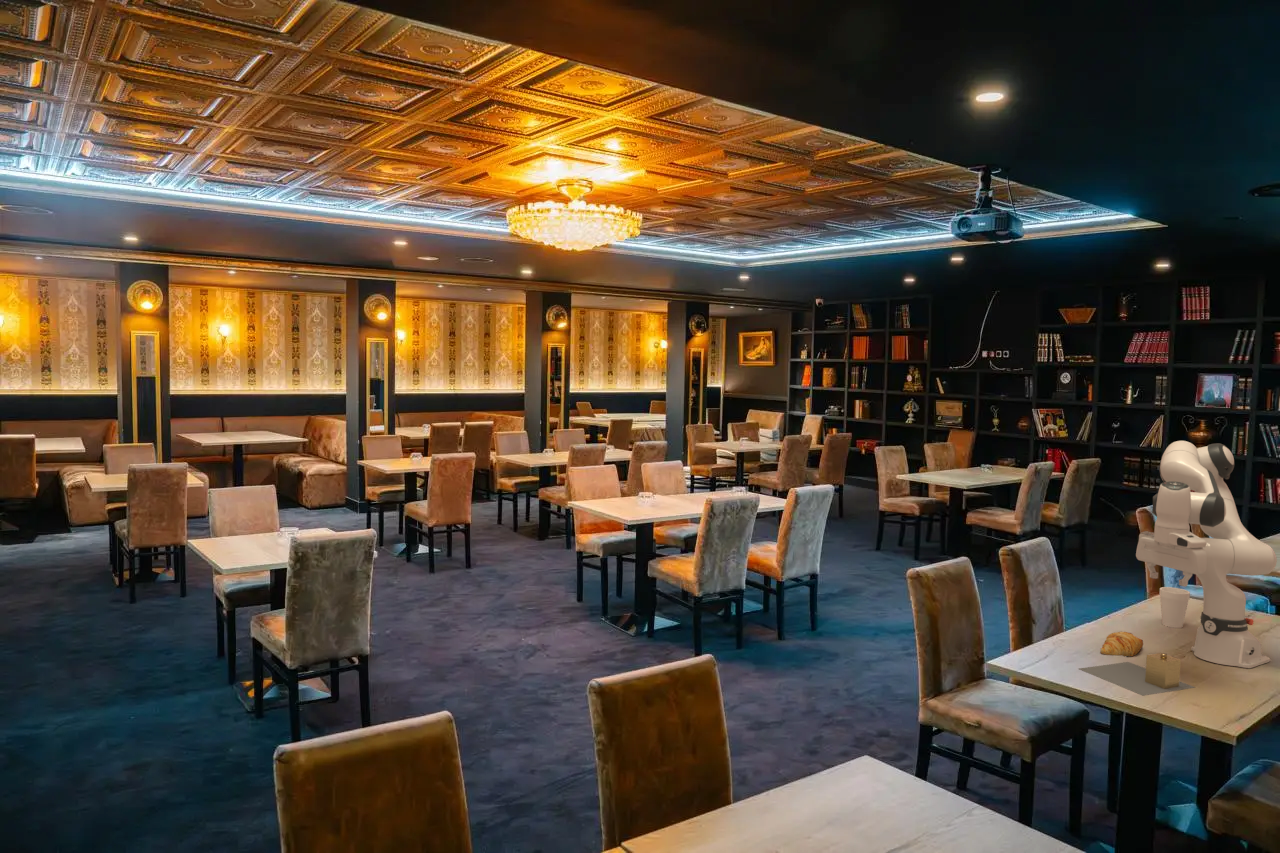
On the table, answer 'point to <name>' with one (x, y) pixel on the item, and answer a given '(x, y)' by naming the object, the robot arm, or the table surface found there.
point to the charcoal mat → (1130, 678)
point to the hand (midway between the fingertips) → (1168, 581)
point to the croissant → (1121, 644)
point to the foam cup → (1173, 606)
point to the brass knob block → (1162, 670)
